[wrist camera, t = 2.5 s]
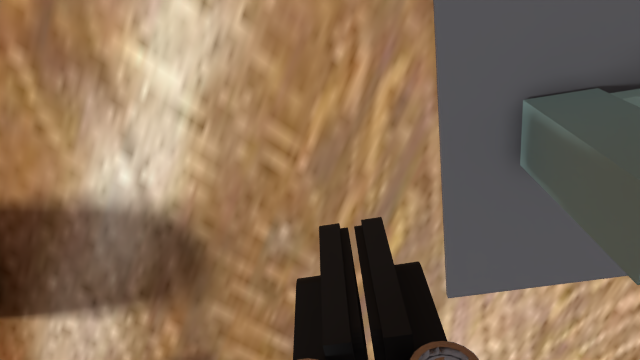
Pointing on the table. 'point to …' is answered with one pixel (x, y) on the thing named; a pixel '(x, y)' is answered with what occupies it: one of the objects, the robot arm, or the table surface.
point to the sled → (590, 164)
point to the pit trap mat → (518, 133)
